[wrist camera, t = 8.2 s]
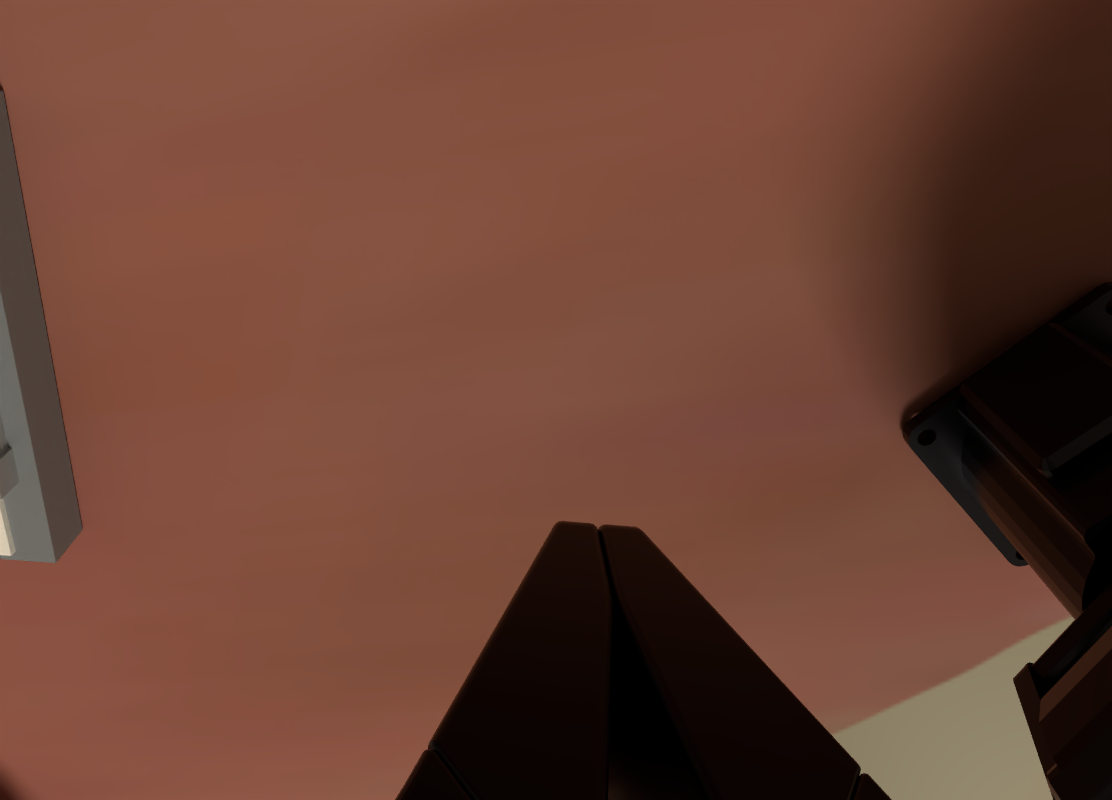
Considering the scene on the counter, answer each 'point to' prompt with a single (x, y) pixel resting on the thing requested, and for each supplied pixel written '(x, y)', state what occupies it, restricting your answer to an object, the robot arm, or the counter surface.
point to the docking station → (28, 395)
